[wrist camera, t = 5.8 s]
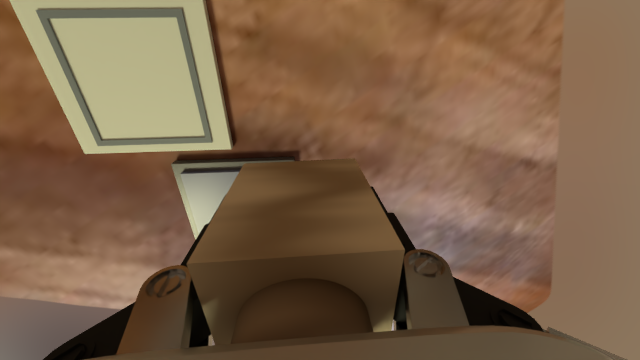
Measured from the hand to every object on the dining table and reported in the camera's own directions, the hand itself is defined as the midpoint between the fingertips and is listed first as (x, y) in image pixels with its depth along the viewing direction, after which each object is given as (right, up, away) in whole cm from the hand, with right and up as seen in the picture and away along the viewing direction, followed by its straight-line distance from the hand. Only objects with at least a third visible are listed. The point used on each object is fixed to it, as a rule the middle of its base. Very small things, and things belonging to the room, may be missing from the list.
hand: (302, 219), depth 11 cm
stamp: (0, 0, +1) cm, 1 cm away
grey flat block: (-9, -1, +20) cm, 22 cm away
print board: (-17, +12, +13) cm, 25 cm away
